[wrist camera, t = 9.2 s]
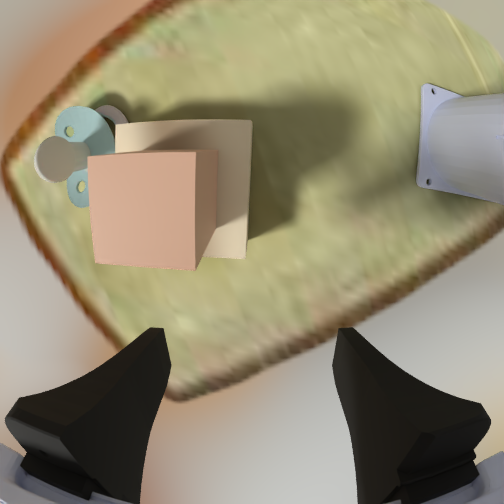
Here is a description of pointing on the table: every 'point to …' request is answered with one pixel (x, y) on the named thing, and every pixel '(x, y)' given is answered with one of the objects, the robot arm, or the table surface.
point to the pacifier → (77, 147)
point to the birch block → (228, 177)
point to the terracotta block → (153, 207)
